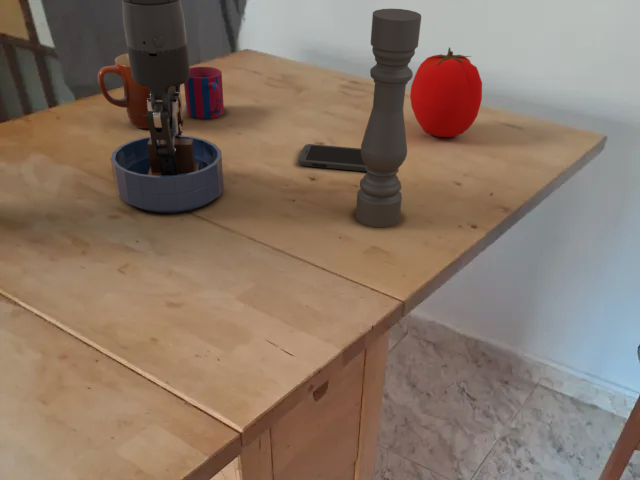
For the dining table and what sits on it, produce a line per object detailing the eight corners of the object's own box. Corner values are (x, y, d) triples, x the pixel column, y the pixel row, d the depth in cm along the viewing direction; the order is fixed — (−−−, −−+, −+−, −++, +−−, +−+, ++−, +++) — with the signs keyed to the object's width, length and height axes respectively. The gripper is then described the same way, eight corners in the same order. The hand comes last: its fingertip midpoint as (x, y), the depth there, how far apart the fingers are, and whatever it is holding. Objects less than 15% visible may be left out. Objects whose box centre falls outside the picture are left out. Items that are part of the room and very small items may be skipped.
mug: (168, 112, 124) (161, 49, 117) (182, 129, 118) (175, 64, 111) (101, 120, 120) (90, 55, 113) (112, 137, 115) (100, 71, 108)
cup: (217, 104, 128) (215, 65, 123) (234, 123, 121) (232, 81, 117) (182, 108, 126) (178, 68, 121) (197, 127, 119) (194, 85, 115)
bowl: (95, 199, 98) (87, 161, 94) (162, 163, 107) (157, 127, 104) (182, 226, 93) (177, 186, 89) (243, 185, 102) (242, 148, 99)
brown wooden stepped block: (148, 194, 97) (141, 148, 93) (154, 178, 101) (147, 133, 97) (198, 195, 98) (193, 149, 93) (201, 178, 102) (197, 134, 97)
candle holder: (372, 231, 93) (391, 23, 76) (346, 213, 97) (359, 11, 80) (408, 221, 96) (434, 17, 79) (382, 203, 100) (402, 6, 82)
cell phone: (384, 173, 107) (385, 168, 107) (297, 165, 108) (297, 160, 108) (388, 155, 112) (388, 150, 112) (304, 147, 114) (304, 143, 113)
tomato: (461, 152, 115) (476, 66, 106) (394, 137, 119) (403, 53, 110) (485, 131, 122) (500, 49, 113) (421, 117, 126) (431, 37, 117)
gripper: (136, 24, 92) (154, 151, 103) (115, 55, 81) (138, 193, 93) (192, 25, 92) (204, 152, 103) (179, 56, 81) (194, 193, 93)
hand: (173, 171), depth 98 cm, fingers closed on brown wooden stepped block, 5 cm apart
